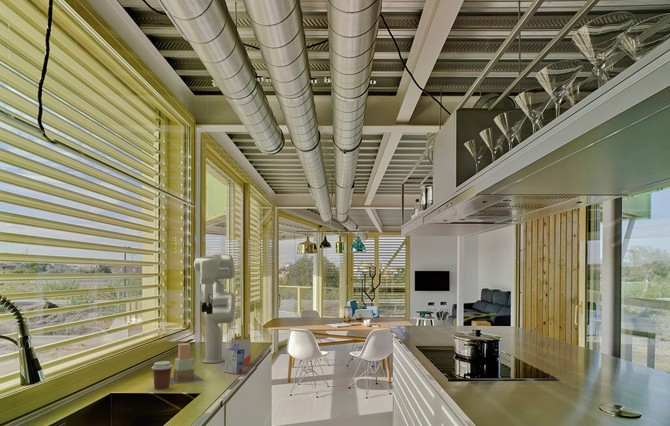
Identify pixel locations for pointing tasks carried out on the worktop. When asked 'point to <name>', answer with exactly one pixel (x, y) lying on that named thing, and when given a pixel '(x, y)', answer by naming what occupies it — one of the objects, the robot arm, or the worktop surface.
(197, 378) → the mat
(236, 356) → the ink cartridge box
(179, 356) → the block pick
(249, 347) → the french fries container
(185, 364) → the block top
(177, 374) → the block bottom
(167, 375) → the coffee cup
